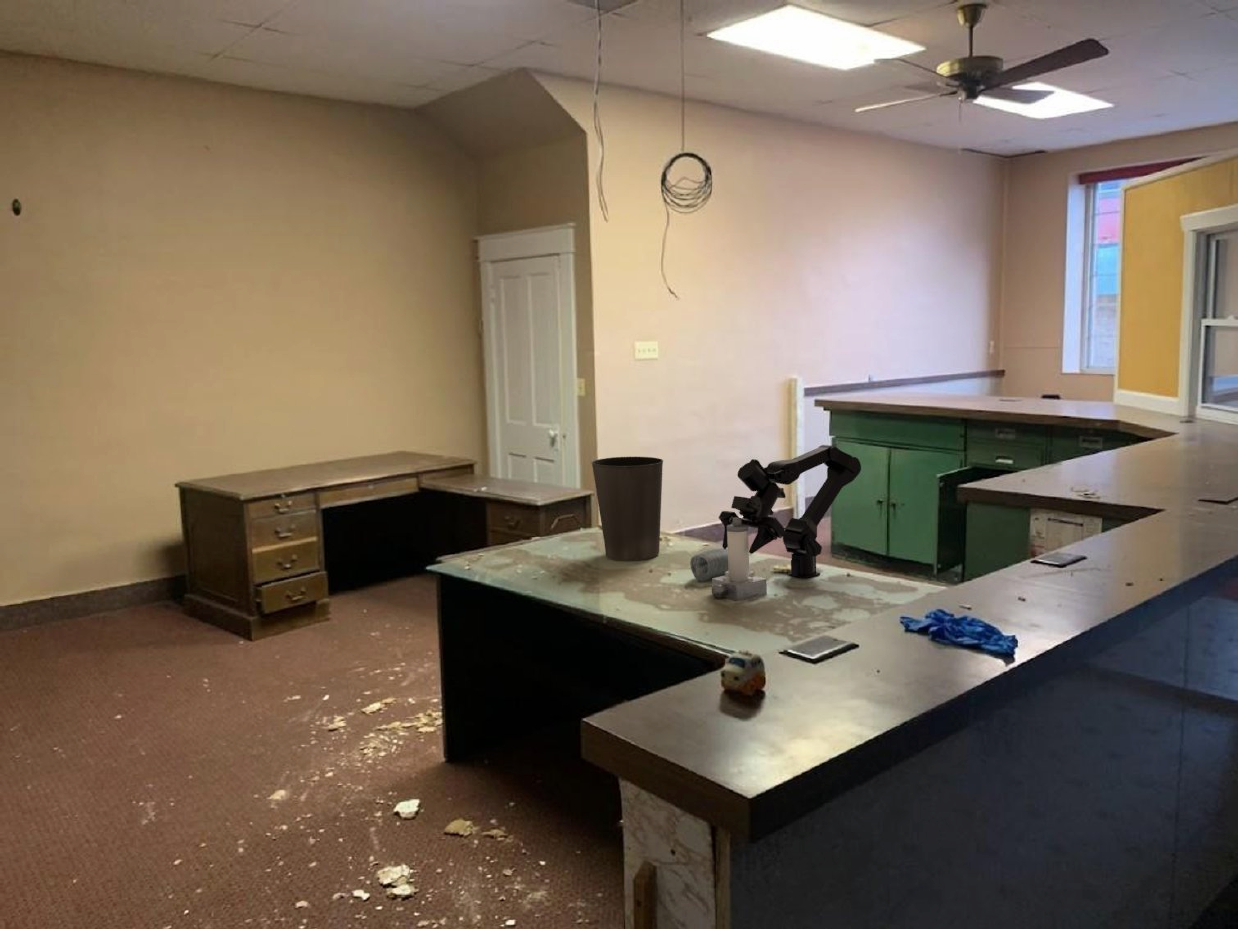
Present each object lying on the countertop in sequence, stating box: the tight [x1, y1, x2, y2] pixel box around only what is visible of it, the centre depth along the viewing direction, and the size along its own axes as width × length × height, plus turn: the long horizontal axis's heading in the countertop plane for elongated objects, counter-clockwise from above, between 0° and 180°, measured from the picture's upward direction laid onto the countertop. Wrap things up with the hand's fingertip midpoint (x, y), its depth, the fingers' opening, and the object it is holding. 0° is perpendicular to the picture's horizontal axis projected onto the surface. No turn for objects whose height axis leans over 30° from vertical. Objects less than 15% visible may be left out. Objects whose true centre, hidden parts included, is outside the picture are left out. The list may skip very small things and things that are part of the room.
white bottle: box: [727, 517, 750, 581], centre depth 240 cm, size 6×6×16 cm
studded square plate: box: [711, 570, 768, 602], centre depth 240 cm, size 13×10×5 cm
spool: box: [690, 547, 728, 583], centre depth 258 cm, size 14×10×10 cm
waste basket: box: [591, 456, 664, 562], centre depth 289 cm, size 27×20×30 cm
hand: (736, 550), depth 240 cm, fingers open, 9 cm apart
